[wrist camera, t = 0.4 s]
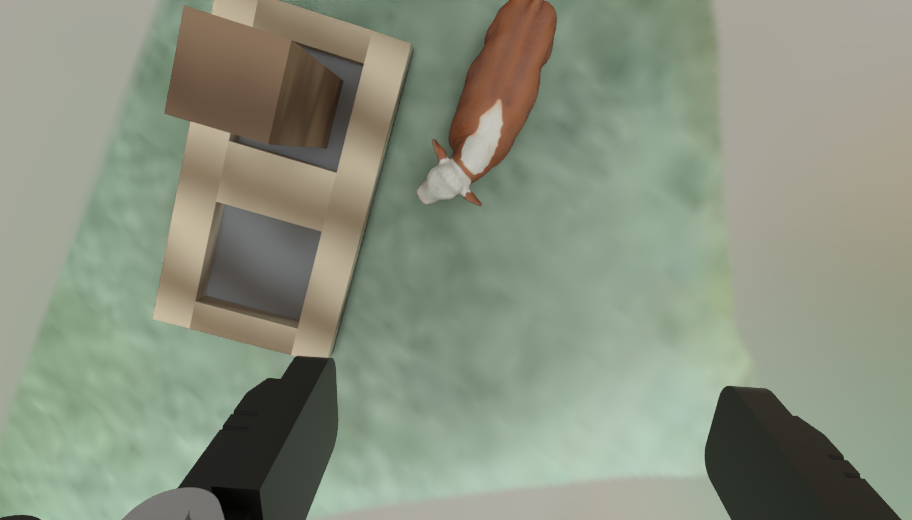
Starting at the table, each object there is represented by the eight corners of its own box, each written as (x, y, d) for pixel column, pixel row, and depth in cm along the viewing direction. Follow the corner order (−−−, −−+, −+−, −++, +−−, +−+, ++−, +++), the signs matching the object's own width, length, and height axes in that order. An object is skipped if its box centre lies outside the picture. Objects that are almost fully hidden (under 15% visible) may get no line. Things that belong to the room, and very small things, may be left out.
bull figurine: (410, 187, 36) (402, 196, 28) (502, 5, 33) (522, -43, 25) (465, 216, 36) (473, 233, 28) (559, 38, 34) (597, 2, 26)
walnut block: (275, 59, 33) (184, 5, 21) (343, 80, 33) (291, 39, 21) (260, 128, 34) (164, 113, 22) (326, 148, 34) (267, 144, 22)
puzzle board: (232, -8, 33) (217, -20, 30) (413, 50, 34) (411, 43, 31) (169, 308, 37) (152, 318, 34) (332, 351, 38) (326, 364, 35)
